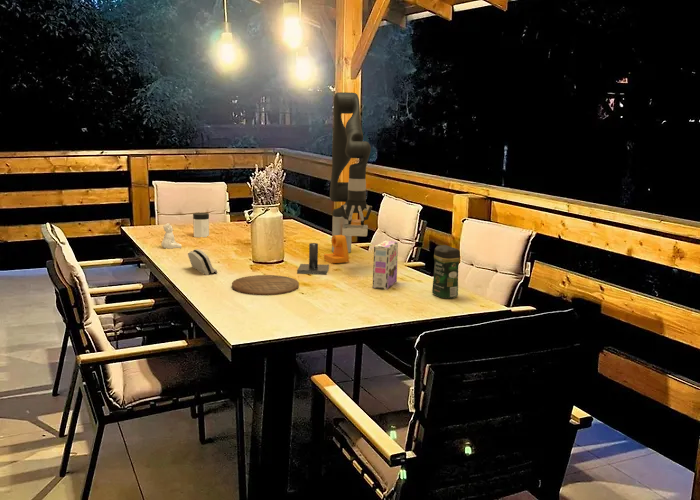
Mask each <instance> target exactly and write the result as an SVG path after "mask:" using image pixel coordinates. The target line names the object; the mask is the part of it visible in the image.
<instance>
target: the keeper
mask: <svg viewBox="0 0 700 500" xmlns="http://www.w3.org/2000/svg"><path fill="white" fill-rule="evenodd" d="M308 247H309V248H308V251H309V253H308V263H300V265H299V266H298V268H297V270H296V274H298V275H299V274H300V275H327V273H328V272H329V269H330V266H329V264H319V263H318V261H319V259H318V258H319V244H318V243H317V242H316V243H315V242H310V243H309V244H308Z"/></svg>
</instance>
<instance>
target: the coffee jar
mask: <svg viewBox="0 0 700 500" xmlns="http://www.w3.org/2000/svg"><path fill="white" fill-rule="evenodd" d="M433 260H434V268H433V278H432V289H431V291H432V294H433V295H435V296H437V297H439V298H441V299H448V300H449V299H454V298H457V297H458V296H459V264H460V261H461V250H459V249H458V248H455V247H452V246H450V245H447V244H442V245H441V244H440V245H436V247H435V248H434V253H433Z"/></svg>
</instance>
